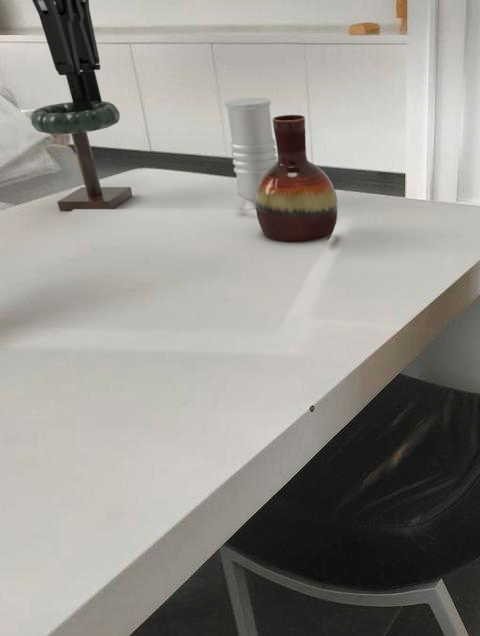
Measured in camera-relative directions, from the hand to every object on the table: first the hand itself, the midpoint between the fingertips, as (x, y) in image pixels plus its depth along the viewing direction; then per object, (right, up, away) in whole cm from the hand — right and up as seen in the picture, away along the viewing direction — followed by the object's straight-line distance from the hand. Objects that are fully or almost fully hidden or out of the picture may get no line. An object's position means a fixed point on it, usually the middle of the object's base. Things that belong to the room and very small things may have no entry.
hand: (91, 118), depth 113 cm
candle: (+28, -16, -2) cm, 32 cm away
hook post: (0, -13, +3) cm, 13 cm away
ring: (-1, -2, -5) cm, 5 cm away
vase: (+36, -26, -17) cm, 47 cm away
